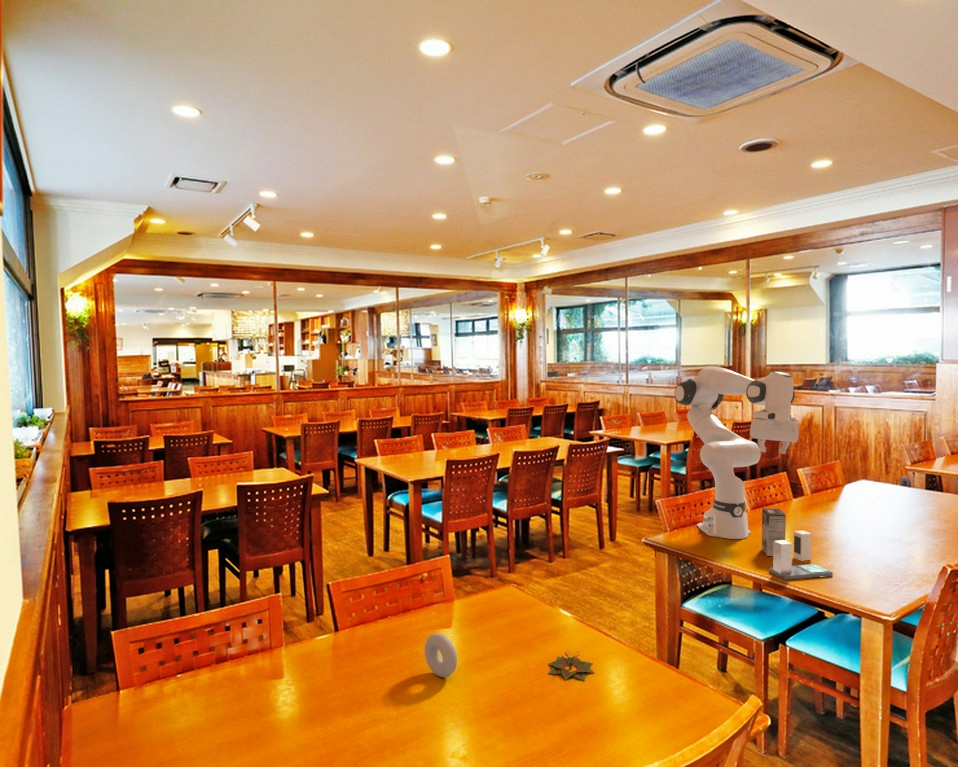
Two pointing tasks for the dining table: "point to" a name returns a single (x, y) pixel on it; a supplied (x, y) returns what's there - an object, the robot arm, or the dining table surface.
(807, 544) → the white box
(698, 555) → the dining table surface
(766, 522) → the coffee box
